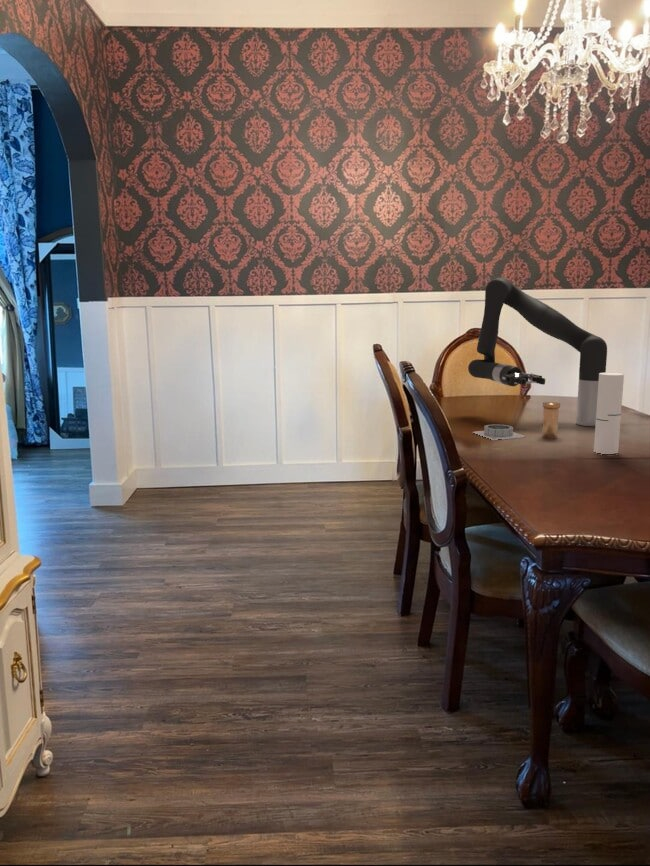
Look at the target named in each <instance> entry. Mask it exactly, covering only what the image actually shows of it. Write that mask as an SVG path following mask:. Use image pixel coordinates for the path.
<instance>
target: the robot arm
mask: <svg viewBox="0 0 650 866" xmlns="http://www.w3.org/2000/svg"><path fill="white" fill-rule="evenodd" d="M484 291H485V292H484V309H483V317H482V323H481V327H480V331H479V336H478V340H477V347H476V351H477V353H478V354H480V355H483V359H478V358H477V359H473V360H471V361H470V362H469V363H468V366H467V370H468V373H469V374H470V376H471V377H474V378H478V379H487V380H489V381H493V382H497V383H499V384H502V385H505V386H508V387H516V386H518V385H522V386H526V385H527V384H531V385H532V384H539V385H545V384H546V378H545V377H544V378H543V375H538V374H534V373H526V372H522V370H521V368H520V367H519V366H515V365H509V364H506V363H505V364H504V363H498V362H496V353H495V349H496V346H497V340H498V336H499V326H500V317H501V312H502V309H503V306H504V305H506V306H508V307H509V308H512V309H513V310H515V311H516V312H517V313H518V314H519V315H520V316H522V317H523V319H525V320H526V321H527V322H528V323H529V324H530V325H531V326H533V327H535V328H536V329H538V330H539V331H541V332H543V333H544V334H546V335H548V336H550V337H552V338H554V339H557V340H559V341H562V342H563V343H565V344H568V345H569V346H571V347H572V348H574V349H575V351H577V352H579V354H580V355H579V369H578V387H577V388H578V389H577V403H576V419H575V421H576V422H575V424H577V426H585V427H595V426H596V411H597V397H598V383H599V373H607V362H608V361H607V360H608V359H607V357H608V345H607V343H606V340H604V339H603V338H602V337H601V336H599V335H598V336H597V335H596V334H593V333H590V332H588V331H586V330H585V329H583V328H581V327H580V326H578V325H576V323H574V322H573V321H572V320H570V319H569V318H568V317H566V316H565V315H564V314H563V313H561V312H559V311H558V310H556V309H554V308H553V307H552V306H550V305H548V304H546V303H545V302H543V301H541V300H539V299H537V298H535V297H533V296H531V295H529V294H528V293H525V292H524V291H523V290H522V289H520V288H518V286H516V285H515V284H514V283H513V282H511V281H510V280H508V278H506V277H501V276H500V277H495V278H492V279H491V280H489V282H488V283H487V284H486V286H485V290H484Z"/></svg>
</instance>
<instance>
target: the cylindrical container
mask: <svg viewBox="0 0 650 866" xmlns="http://www.w3.org/2000/svg"><path fill="white" fill-rule="evenodd" d="M624 378H625V374H624V373H621V372H606V373H599V383H598V397H597V411H596V426H594V427H595V429H594V442H593V453H594V452H596V453H595V454H597V453H601V454H600V455H602V454H614V453H618V454H619V444H620V443H619V442H620V433H621V432H620V431H621V420H622V419H621V416H622V404H623V394H624V393H623V391H624V382H625V380H624Z"/></svg>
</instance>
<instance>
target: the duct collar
mask: <svg viewBox="0 0 650 866" xmlns="http://www.w3.org/2000/svg"><path fill="white" fill-rule="evenodd" d="M483 426H484V427H483V430H478V431H477V430H476V431H472V434H473V433H475V434H474V435H476V434H478V435H477V436H479V435H480V436H479V437H482V436H483V437H482V438H484V437H486V438H485V439H487V438H489V439H488V440H490V439H491V441H499V440H498V439H502V440H510V439H521V438H526V437H525V435H524V434H520V433H517V432H514V427H513V426H511V425H508V424H497V423H496V424H495V423H494V424H486V425H483Z"/></svg>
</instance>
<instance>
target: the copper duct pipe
mask: <svg viewBox="0 0 650 866" xmlns="http://www.w3.org/2000/svg"><path fill="white" fill-rule="evenodd" d="M560 407H561V403H559V402H555V401H554V402H553V401H545V402H542V408H543V413H542V415H543V417H542V431H541V434H542V436H541V437H542V438H543V437H544V438H543V439H549V438H554V439H558V427H559V410H560V409H559V408H560Z"/></svg>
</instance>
